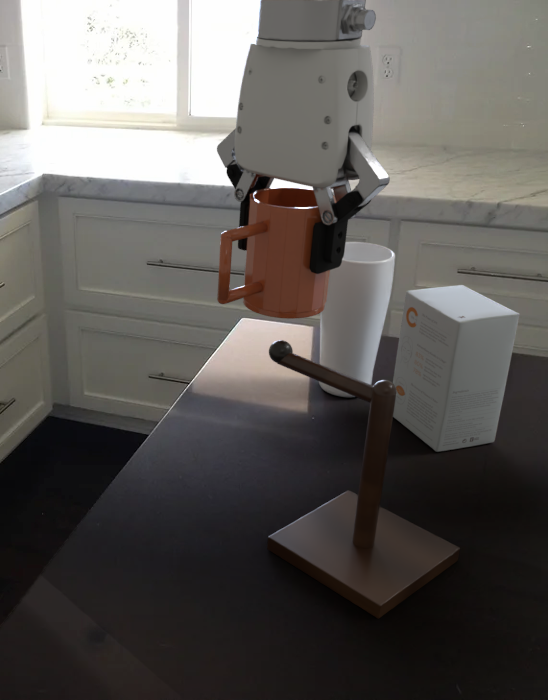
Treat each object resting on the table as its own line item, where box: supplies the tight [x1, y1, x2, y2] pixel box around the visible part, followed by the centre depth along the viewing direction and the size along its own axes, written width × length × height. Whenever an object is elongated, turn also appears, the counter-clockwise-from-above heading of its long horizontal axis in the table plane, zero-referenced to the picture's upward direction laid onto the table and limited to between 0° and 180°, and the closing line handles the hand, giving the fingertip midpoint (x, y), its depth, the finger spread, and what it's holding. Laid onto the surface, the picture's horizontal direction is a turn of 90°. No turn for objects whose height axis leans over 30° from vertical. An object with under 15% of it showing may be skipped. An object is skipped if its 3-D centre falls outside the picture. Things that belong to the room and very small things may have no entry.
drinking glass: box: [318, 241, 396, 398], centre depth 88 cm, size 7×7×15 cm
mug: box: [216, 186, 336, 320], centre depth 69 cm, size 11×7×9 cm, turn 127°
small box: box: [392, 284, 520, 453], centre depth 80 cm, size 8×6×13 cm
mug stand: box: [266, 339, 461, 619], centre depth 65 cm, size 10×15×15 cm, turn 38°
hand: (287, 256), depth 70 cm, fingers closed on mug, 6 cm apart
